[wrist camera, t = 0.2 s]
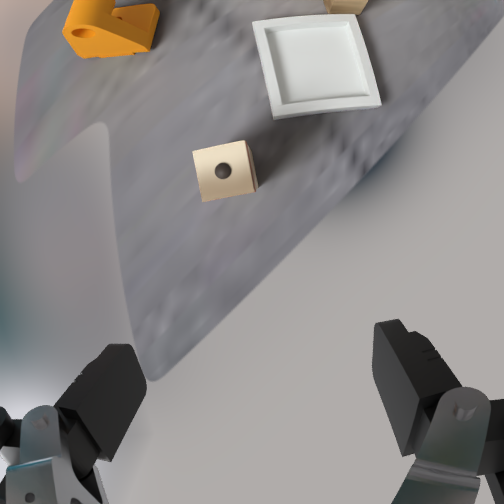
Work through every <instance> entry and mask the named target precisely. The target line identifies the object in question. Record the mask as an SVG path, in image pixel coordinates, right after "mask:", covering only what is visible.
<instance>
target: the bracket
mask: <svg viewBox="0 0 504 504" xmlns="http://www.w3.org/2000/svg"><path fill="white" fill-rule="evenodd" d="M114 6H115V0H74V2H73V4H72V7H71V9H70V12H69V15H68V17H67V20H66V23H65V26H64V29H63V32H62V33H63V35H64V36H65V38H66V39H67V41H68V42H69V44H70V45H71V46H72V48H73V49H74V51H75V52H76V53H77V55H78V56H80V57H82V58H84V59H85V58H91V57H100V58H105V57H113V56H123V55H135V53H136V52H150V48H151V44H152V40H153V36H154V33H155V29H156V25H157V22H158V18H159V15H160V11H159V10H158V9H157V7H156V6H155V5H154V4H152V3H150V4H141V5H134V6H127V7H120V8H115V9H114Z"/></svg>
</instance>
